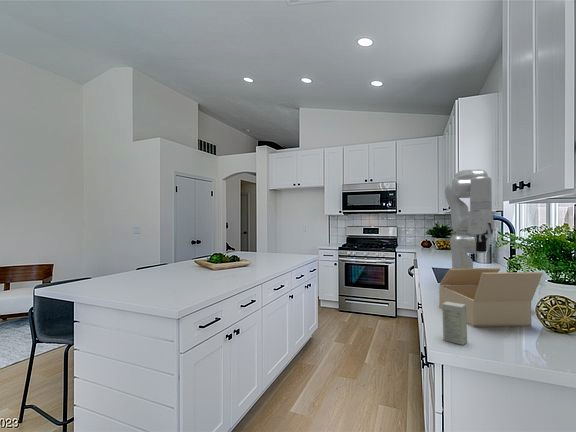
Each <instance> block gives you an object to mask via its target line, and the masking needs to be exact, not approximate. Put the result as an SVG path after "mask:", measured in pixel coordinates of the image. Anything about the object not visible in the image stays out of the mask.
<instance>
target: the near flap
mask: <svg viewBox="0 0 576 432" xmlns="http://www.w3.org/2000/svg"><path fill="white" fill-rule="evenodd" d="M499 271H501V268H500V267H499V268H497V267H496V268H495V267H492V268H491V267H490V268H489V267H487V268H486V267H485V268H484V267H483V268H481V267H480V268H478V267H477V268H475V267H473V268H468V269H452V268H449V269H448V270H447V272H446V274H445V275H444V276H443V278H442V279H441V281H440V282H439V283H438V285H439V286H450V285H478V284H479V281H480V278H481V275H482V273H500V272H499Z"/></svg>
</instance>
